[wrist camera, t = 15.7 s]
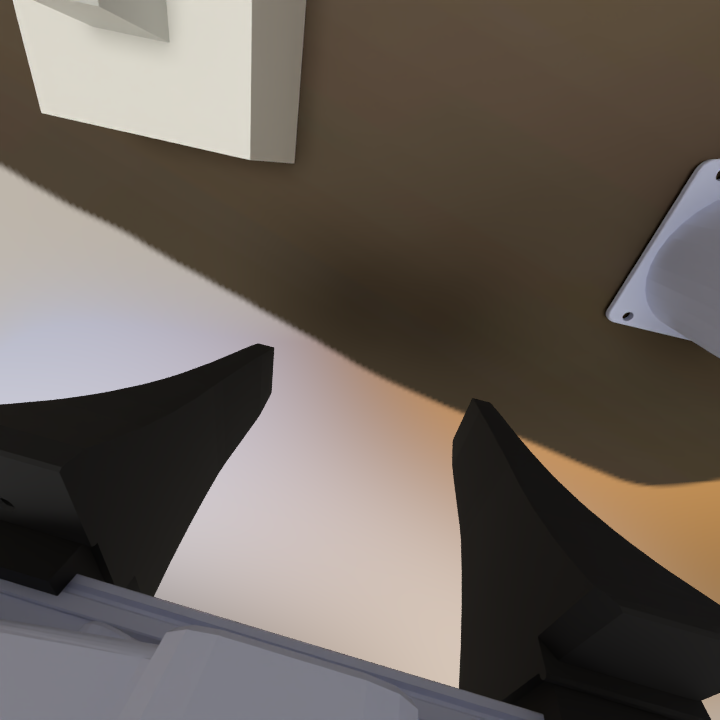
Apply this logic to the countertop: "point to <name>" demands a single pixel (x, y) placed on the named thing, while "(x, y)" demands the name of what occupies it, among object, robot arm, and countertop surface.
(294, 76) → the grey knobbed block
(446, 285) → the countertop surface
